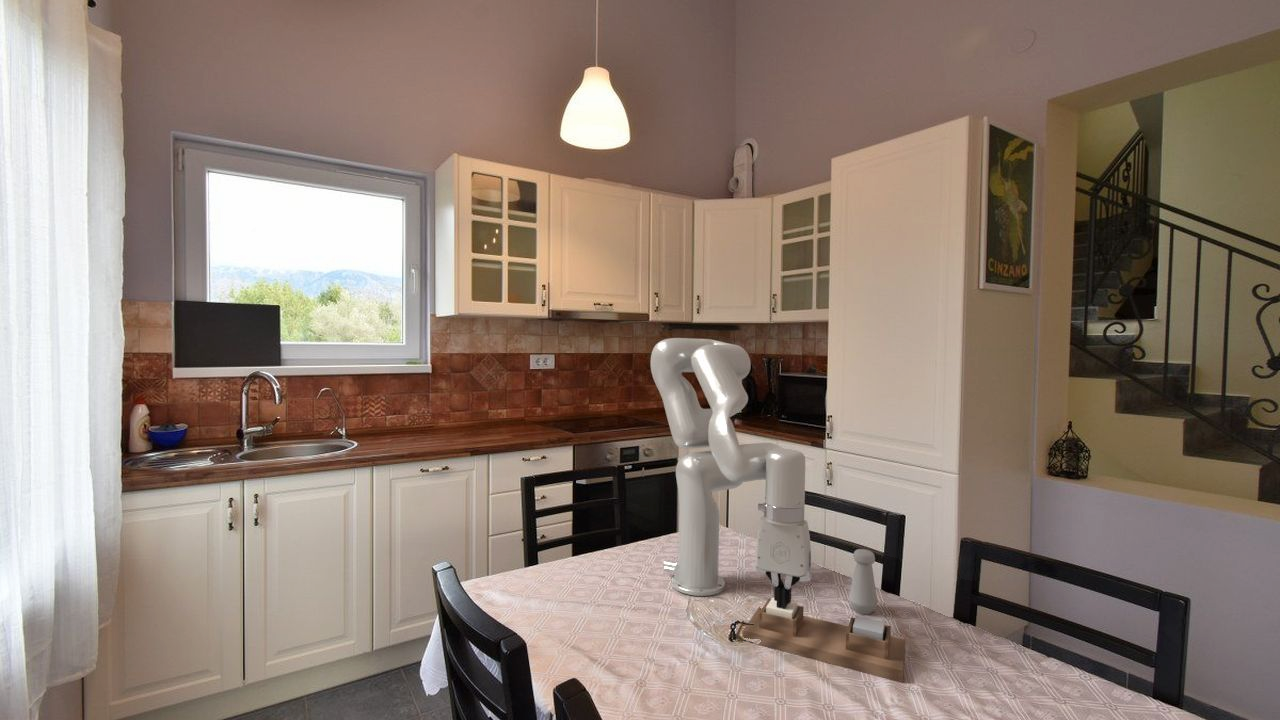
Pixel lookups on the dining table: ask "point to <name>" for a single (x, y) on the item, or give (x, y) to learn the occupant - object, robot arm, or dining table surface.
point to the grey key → (869, 627)
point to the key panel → (829, 642)
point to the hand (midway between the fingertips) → (782, 605)
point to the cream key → (787, 612)
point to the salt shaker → (863, 583)
